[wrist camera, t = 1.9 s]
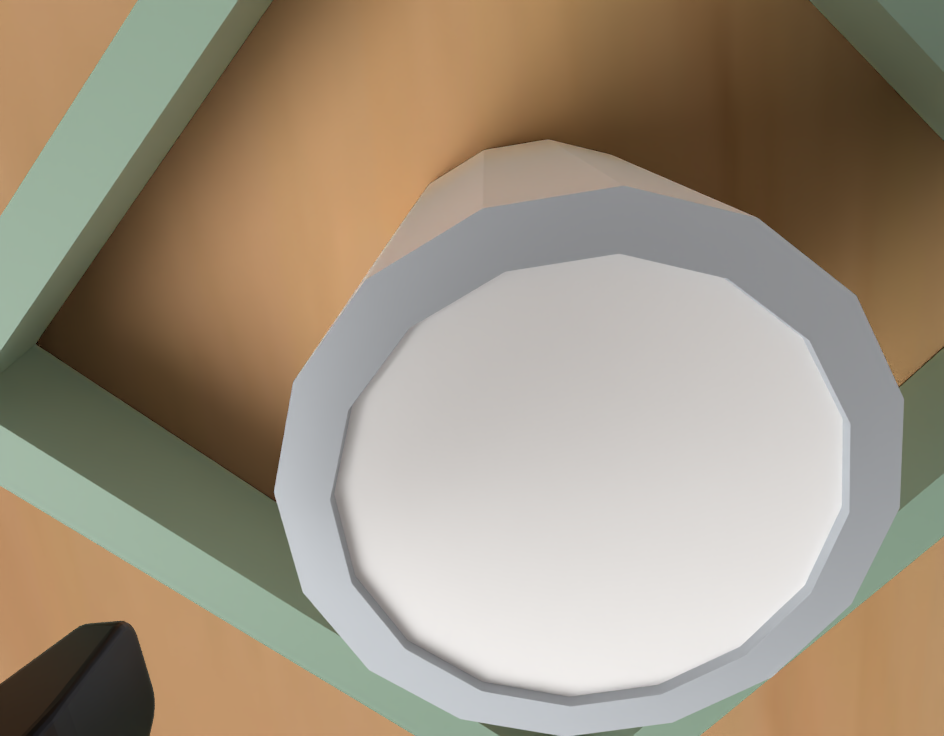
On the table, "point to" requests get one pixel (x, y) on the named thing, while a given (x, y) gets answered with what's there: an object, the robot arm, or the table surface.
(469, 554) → the white cup
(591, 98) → the table surface
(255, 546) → the green tray
